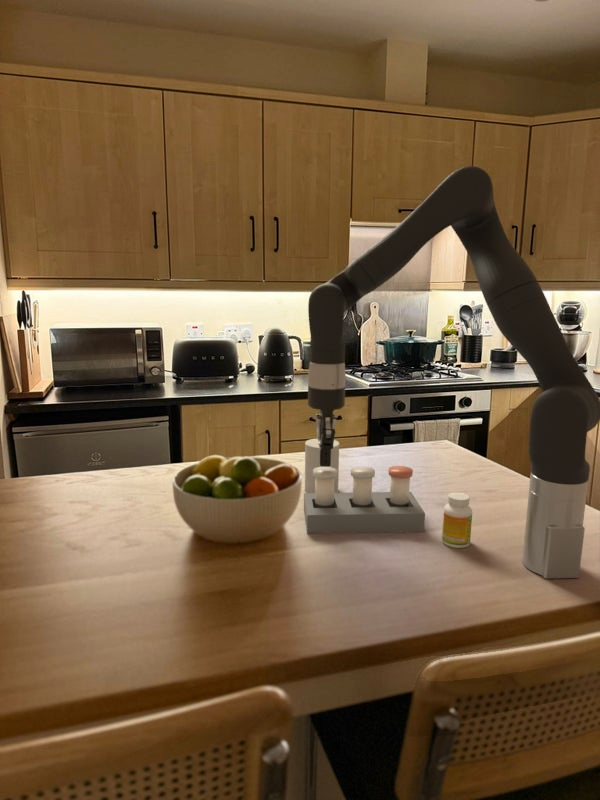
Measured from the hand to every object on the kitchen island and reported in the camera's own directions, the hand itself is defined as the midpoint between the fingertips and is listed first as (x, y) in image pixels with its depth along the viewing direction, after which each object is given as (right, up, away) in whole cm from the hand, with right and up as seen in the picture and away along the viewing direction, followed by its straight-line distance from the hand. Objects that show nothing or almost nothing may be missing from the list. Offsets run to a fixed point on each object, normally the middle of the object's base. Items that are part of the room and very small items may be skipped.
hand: (325, 465), depth 120 cm
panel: (+8, -12, +3) cm, 15 cm away
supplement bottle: (+25, -15, -7) cm, 30 cm away
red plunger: (+16, -8, +2) cm, 18 cm away
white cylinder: (0, -9, +20) cm, 22 cm away
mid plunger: (+8, -8, +2) cm, 11 cm away
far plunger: (0, -8, +2) cm, 8 cm away
